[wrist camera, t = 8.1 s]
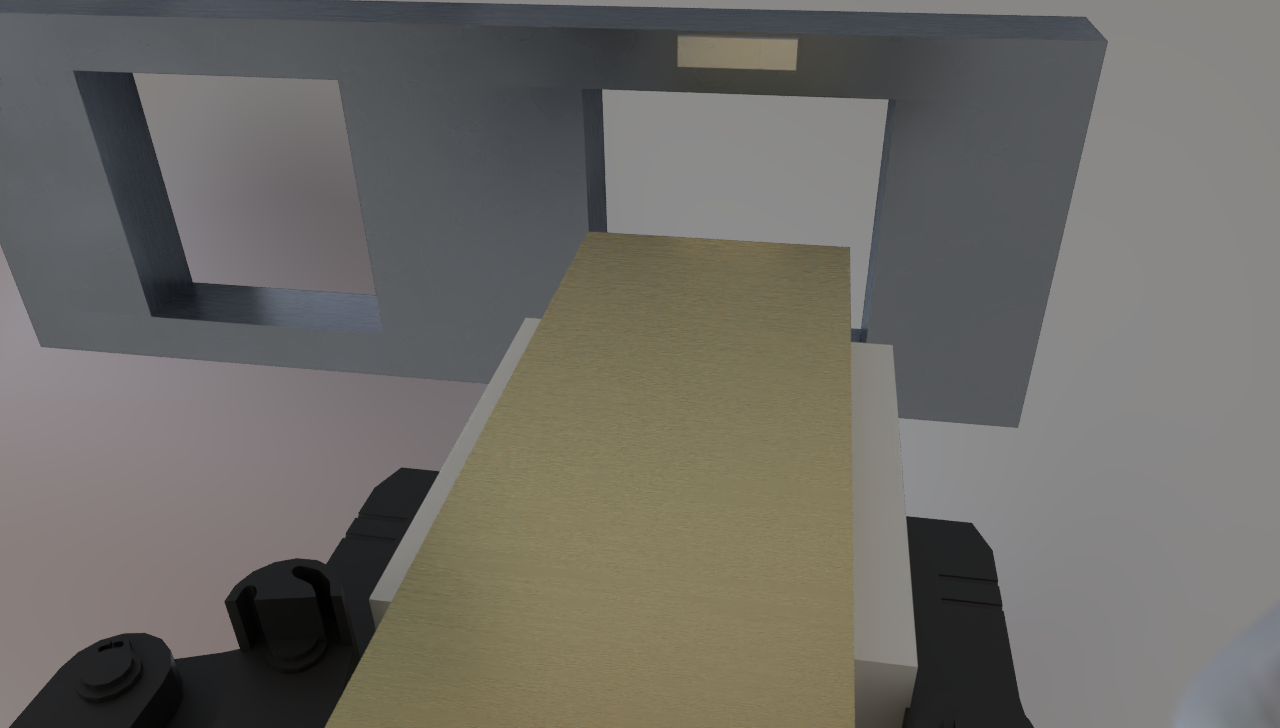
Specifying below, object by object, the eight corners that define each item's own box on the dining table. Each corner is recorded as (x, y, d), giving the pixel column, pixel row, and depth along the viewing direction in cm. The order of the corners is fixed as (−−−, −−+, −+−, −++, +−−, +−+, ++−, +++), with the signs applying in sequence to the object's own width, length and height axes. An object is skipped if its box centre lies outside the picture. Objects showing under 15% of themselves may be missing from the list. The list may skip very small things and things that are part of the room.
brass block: (597, 439, 20) (338, 1165, 10) (587, 231, 17) (228, 907, 7) (827, 461, 19) (806, 1267, 9) (849, 247, 16) (857, 1019, 6)
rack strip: (87, 312, 29) (38, 348, 27) (-28, -8, 24) (-96, 11, 22) (1005, 382, 25) (1018, 430, 23) (1085, 16, 20) (1108, 43, 19)
